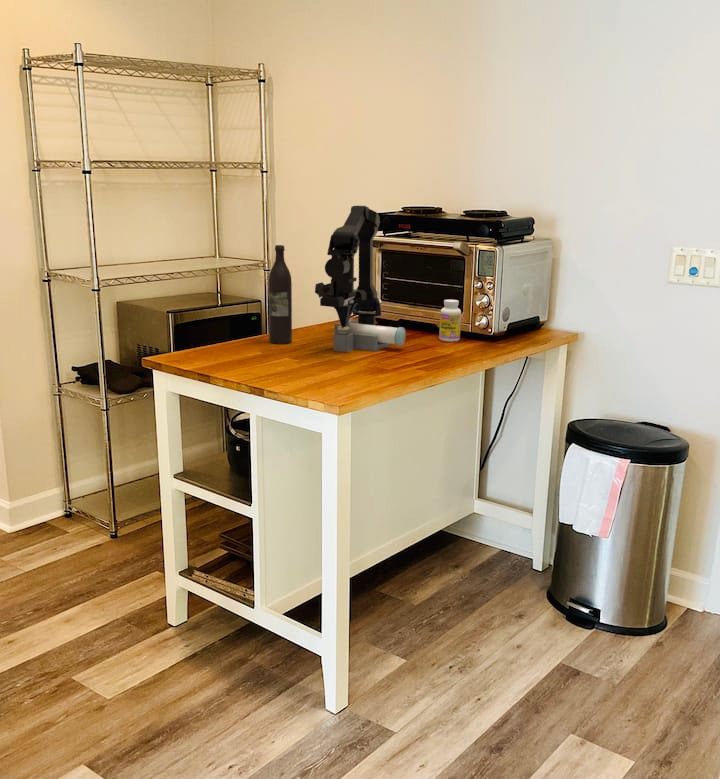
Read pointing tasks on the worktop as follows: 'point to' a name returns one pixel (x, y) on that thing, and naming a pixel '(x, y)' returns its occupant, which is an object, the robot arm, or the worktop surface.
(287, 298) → the wine bottle
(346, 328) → the release plunger
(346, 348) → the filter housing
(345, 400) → the worktop surface
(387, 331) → the cylinder
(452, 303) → the supplement bottle
